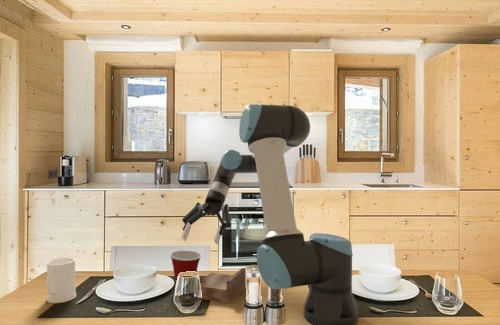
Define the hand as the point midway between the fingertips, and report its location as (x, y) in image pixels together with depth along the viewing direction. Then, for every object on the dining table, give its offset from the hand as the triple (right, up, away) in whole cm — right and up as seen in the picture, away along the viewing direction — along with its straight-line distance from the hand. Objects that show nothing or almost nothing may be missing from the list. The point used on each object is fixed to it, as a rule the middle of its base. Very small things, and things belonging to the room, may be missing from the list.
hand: (199, 240), depth 135 cm
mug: (-42, -15, -19) cm, 49 cm away
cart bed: (+9, -14, -14) cm, 22 cm away
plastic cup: (-3, -15, -9) cm, 18 cm away
